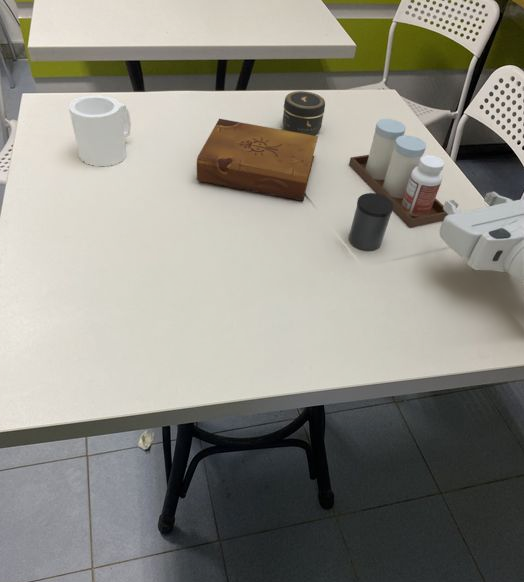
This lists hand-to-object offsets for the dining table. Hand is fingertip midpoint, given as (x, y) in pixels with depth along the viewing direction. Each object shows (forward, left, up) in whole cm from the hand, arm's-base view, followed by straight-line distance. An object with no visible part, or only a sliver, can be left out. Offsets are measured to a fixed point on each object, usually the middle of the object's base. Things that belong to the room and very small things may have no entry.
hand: (468, 199), depth 90 cm
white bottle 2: (0, -19, -10) cm, 21 cm away
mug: (+56, -52, -10) cm, 77 cm away
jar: (+8, -51, -10) cm, 52 cm away
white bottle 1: (0, -27, -10) cm, 28 cm away
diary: (+26, -36, -10) cm, 45 cm away
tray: (0, -19, -10) cm, 22 cm away
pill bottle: (0, -12, -10) cm, 15 cm away
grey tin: (+16, -6, -10) cm, 20 cm away
